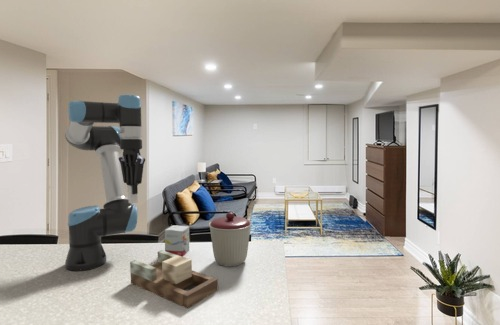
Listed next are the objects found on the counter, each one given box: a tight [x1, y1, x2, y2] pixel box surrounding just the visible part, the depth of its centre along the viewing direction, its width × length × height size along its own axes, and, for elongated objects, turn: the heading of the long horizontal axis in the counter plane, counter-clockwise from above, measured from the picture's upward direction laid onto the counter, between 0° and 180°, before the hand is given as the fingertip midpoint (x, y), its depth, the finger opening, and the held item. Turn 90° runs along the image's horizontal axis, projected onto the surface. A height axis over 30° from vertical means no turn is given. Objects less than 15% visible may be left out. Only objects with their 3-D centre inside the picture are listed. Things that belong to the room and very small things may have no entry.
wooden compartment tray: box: [129, 250, 219, 310], centre depth 109 cm, size 29×14×8 cm, turn 55°
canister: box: [208, 212, 253, 267], centre depth 131 cm, size 18×18×21 cm
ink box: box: [164, 224, 190, 257], centre depth 141 cm, size 9×9×12 cm
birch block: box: [162, 255, 193, 284], centre depth 107 cm, size 7×7×6 cm
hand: (133, 202), depth 115 cm, fingers closed
